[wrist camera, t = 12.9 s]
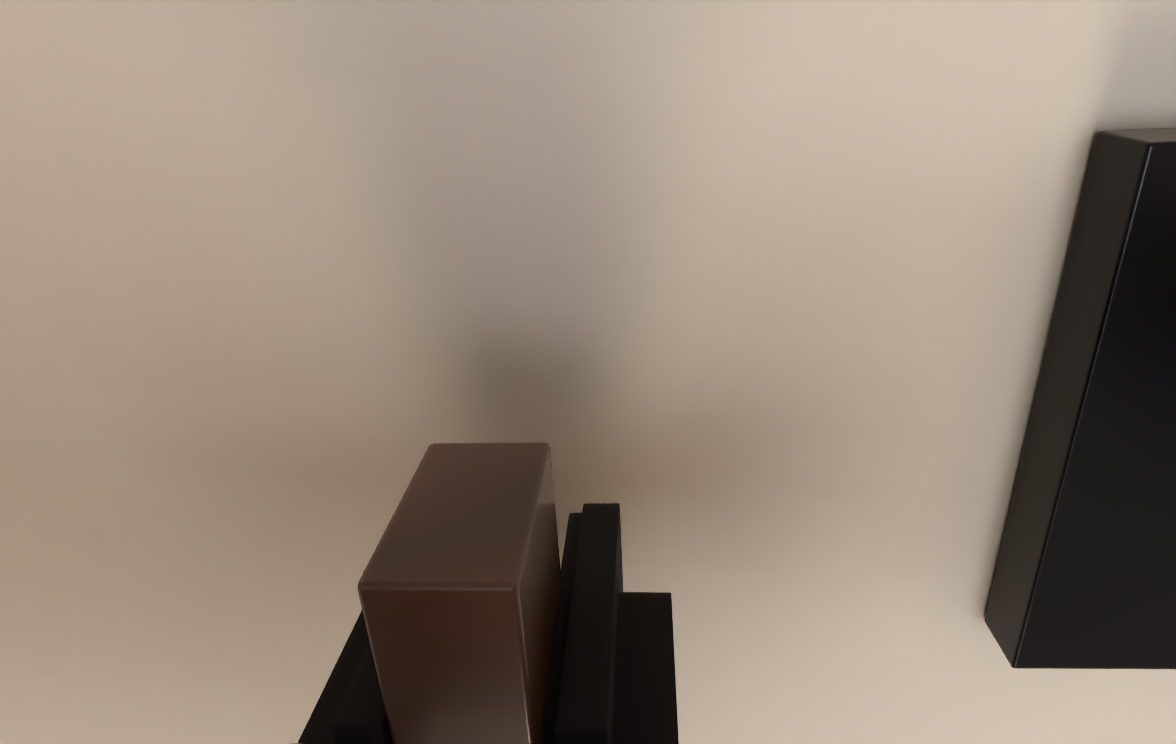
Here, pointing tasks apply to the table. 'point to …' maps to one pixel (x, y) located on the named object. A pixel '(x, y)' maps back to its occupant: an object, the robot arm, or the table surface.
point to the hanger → (467, 596)
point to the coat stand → (1102, 435)
